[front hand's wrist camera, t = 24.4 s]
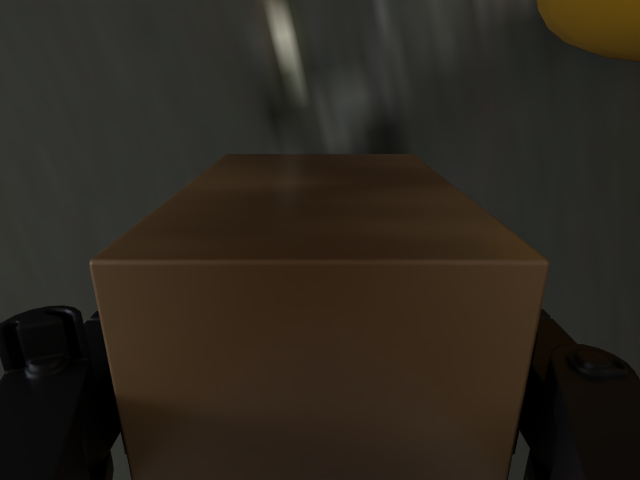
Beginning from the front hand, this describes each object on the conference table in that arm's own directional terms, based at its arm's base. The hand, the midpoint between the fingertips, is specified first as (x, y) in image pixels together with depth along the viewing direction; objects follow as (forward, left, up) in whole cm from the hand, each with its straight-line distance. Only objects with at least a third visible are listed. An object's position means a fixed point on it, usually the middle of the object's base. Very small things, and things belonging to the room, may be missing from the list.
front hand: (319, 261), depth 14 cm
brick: (0, 0, -1) cm, 1 cm away
